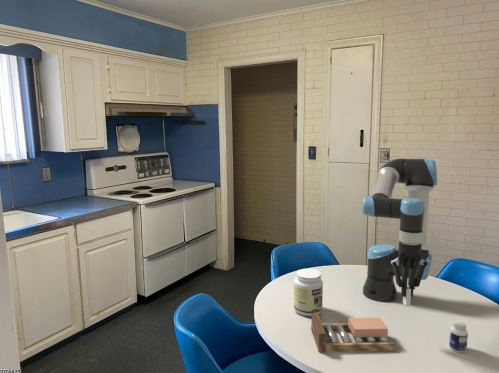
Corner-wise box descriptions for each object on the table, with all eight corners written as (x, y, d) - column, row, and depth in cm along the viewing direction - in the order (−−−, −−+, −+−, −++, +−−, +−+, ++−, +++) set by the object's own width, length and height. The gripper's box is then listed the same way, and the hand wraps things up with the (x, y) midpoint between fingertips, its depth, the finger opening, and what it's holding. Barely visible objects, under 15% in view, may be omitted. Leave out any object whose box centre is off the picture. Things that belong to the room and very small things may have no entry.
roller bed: (324, 329, 146) (324, 323, 145) (377, 328, 146) (377, 322, 145) (330, 346, 135) (331, 339, 134) (387, 344, 135) (388, 338, 135)
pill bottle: (445, 344, 137) (447, 319, 135) (460, 344, 137) (462, 318, 135) (455, 353, 131) (457, 327, 130) (469, 352, 132) (472, 326, 130)
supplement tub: (315, 320, 155) (316, 281, 152) (288, 312, 161) (289, 275, 158) (326, 308, 165) (327, 271, 162) (300, 301, 171) (301, 265, 168)
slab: (379, 324, 144) (379, 317, 144) (387, 336, 136) (387, 328, 136) (348, 325, 144) (348, 318, 143) (354, 337, 136) (354, 329, 135)
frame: (378, 328, 148) (379, 311, 147) (393, 350, 134) (394, 332, 132) (311, 330, 147) (311, 313, 146) (318, 352, 133) (319, 333, 132)
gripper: (423, 238, 138) (419, 299, 142) (388, 239, 138) (384, 300, 142) (433, 245, 131) (429, 309, 135) (396, 245, 131) (392, 309, 134)
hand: (406, 304), depth 138 cm, fingers closed
